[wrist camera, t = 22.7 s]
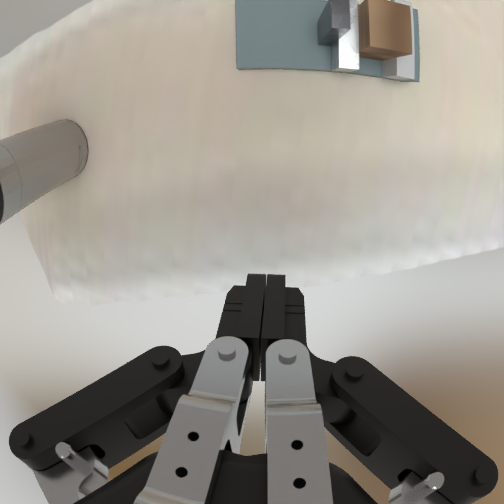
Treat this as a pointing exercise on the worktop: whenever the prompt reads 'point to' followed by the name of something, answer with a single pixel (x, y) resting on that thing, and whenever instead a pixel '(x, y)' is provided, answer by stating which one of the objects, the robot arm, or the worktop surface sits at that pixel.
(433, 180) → the worktop surface
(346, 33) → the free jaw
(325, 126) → the worktop surface
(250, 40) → the vise
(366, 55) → the block
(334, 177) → the worktop surface
